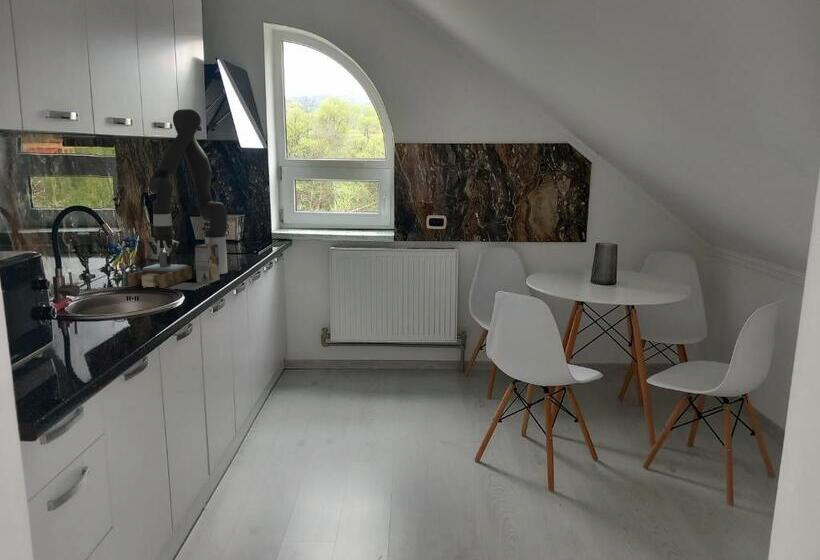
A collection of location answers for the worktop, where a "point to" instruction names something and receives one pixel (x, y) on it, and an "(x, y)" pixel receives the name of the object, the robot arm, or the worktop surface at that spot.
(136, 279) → the organiser
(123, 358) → the worktop surface
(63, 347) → the worktop surface
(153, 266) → the lid
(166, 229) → the robot arm
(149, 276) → the block
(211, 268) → the coffee box
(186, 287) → the mat
